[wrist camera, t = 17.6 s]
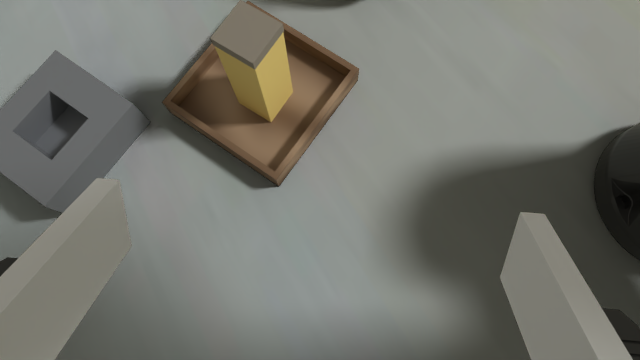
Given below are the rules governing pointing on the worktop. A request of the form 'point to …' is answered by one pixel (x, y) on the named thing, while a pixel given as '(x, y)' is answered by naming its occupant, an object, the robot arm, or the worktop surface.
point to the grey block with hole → (64, 132)
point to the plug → (255, 59)
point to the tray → (250, 128)
